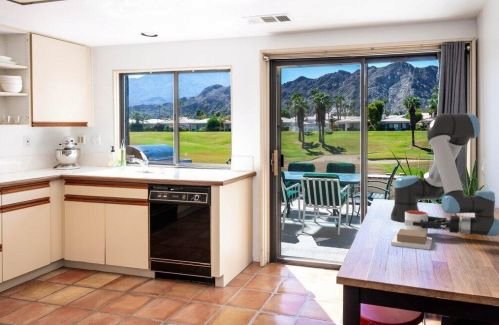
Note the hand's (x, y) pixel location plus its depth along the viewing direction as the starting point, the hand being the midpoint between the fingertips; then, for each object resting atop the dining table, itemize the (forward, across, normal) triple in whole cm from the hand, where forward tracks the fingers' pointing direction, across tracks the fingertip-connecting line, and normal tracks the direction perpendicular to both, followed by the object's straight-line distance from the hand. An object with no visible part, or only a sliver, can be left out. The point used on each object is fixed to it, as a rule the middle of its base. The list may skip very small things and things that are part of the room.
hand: (406, 220), depth 206 cm
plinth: (-4, -18, -6) cm, 19 cm away
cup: (-4, 0, -6) cm, 8 cm away
